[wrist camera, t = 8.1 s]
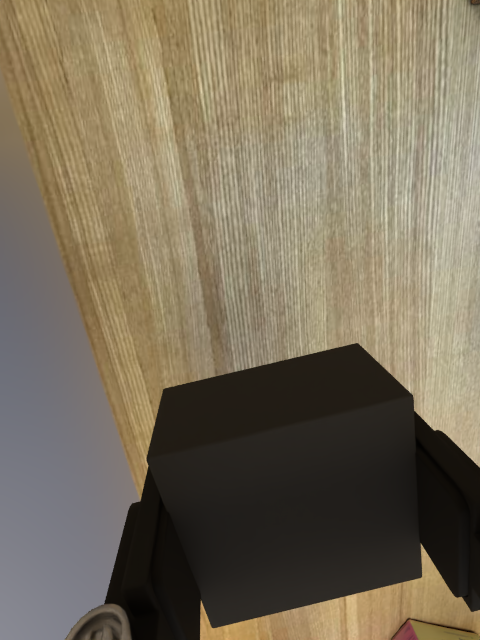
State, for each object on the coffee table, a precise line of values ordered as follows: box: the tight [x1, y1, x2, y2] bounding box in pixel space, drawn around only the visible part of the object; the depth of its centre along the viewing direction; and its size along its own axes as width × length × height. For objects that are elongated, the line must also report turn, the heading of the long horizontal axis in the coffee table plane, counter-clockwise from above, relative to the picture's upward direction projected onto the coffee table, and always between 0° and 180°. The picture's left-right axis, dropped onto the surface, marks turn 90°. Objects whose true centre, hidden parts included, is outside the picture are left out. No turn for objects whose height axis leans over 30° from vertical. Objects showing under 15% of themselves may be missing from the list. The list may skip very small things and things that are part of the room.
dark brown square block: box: [147, 343, 422, 628], centre depth 10 cm, size 6×6×3 cm
